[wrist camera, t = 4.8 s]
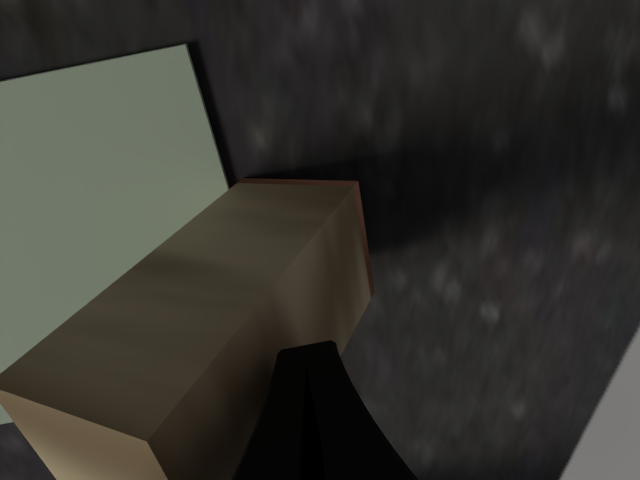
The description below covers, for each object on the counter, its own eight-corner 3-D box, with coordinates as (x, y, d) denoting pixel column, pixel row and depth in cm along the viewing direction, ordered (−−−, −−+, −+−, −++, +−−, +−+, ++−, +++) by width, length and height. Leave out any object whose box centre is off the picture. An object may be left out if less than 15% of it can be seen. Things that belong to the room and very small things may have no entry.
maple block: (374, 292, 18) (221, 576, 10) (270, 278, 20) (78, 508, 12) (358, 180, 15) (146, 441, 8) (242, 178, 17) (-14, 384, 10)
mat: (281, 365, 22) (281, 369, 22) (-16, 422, 22) (-19, 428, 22) (186, 43, 15) (185, 44, 15) (-247, 130, 15) (-256, 133, 15)
